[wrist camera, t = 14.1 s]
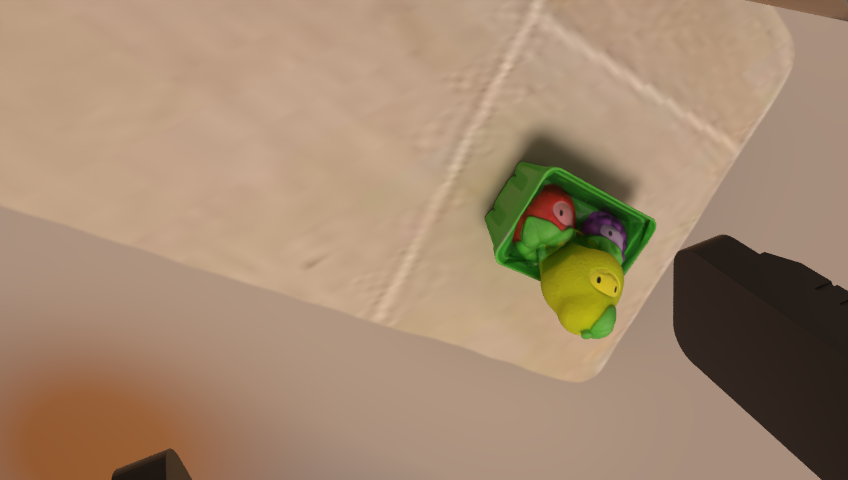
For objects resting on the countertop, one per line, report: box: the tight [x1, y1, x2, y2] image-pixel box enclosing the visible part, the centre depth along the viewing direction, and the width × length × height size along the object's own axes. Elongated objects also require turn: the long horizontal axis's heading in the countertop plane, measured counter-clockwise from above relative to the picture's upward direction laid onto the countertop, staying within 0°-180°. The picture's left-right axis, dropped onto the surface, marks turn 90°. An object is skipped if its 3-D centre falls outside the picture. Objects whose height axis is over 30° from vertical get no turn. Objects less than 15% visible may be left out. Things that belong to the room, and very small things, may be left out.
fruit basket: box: [485, 162, 656, 339], centre depth 47 cm, size 11×9×11 cm
